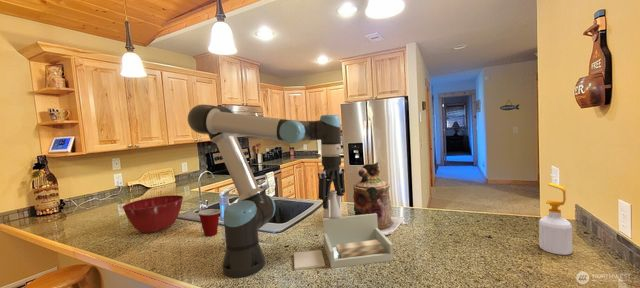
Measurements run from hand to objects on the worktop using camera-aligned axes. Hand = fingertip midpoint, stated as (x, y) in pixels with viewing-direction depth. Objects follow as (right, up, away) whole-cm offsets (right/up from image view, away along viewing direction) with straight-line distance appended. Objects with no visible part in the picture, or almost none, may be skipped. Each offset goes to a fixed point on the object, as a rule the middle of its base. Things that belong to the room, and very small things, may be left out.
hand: (332, 214), depth 105 cm
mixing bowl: (-96, -20, +44) cm, 107 cm away
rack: (+9, -16, +1) cm, 18 cm away
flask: (0, -1, 0) cm, 1 cm away
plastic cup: (-60, -18, +30) cm, 69 cm away
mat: (-9, -17, -3) cm, 19 cm away
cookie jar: (+22, -14, +29) cm, 39 cm away
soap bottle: (+82, -12, -6) cm, 83 cm away
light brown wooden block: (+10, -16, -4) cm, 19 cm away
